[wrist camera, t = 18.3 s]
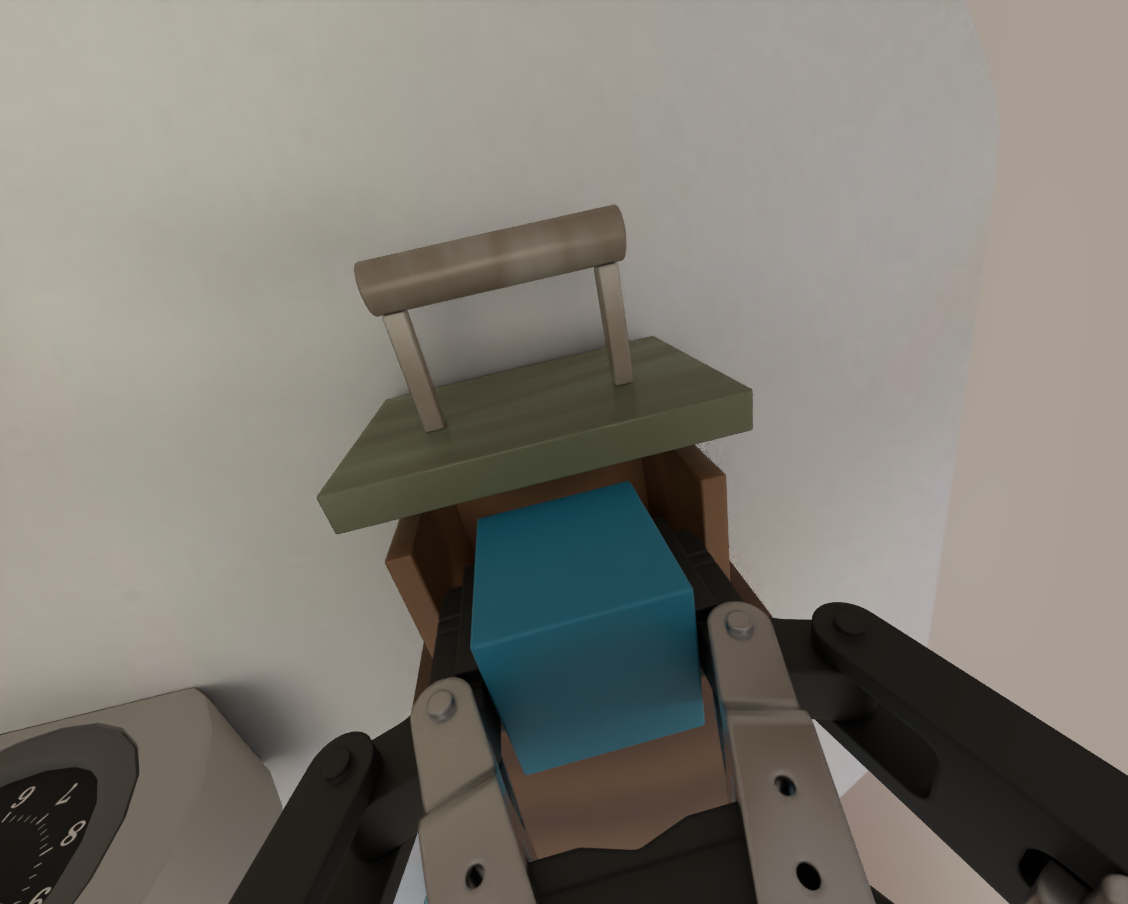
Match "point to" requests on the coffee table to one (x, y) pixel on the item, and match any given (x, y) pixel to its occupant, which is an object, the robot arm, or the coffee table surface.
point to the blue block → (584, 628)
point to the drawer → (527, 414)
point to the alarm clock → (132, 806)
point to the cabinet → (620, 781)
